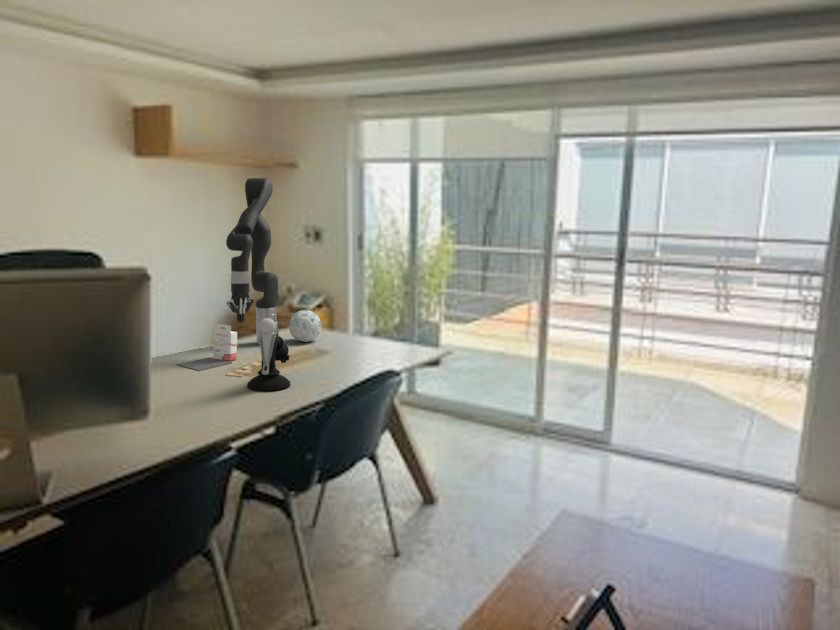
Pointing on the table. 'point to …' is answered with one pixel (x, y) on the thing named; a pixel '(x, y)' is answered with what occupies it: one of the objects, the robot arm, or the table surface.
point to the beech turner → (244, 370)
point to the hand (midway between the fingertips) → (240, 322)
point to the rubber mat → (204, 363)
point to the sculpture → (270, 360)
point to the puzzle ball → (305, 326)
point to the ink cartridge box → (224, 343)
